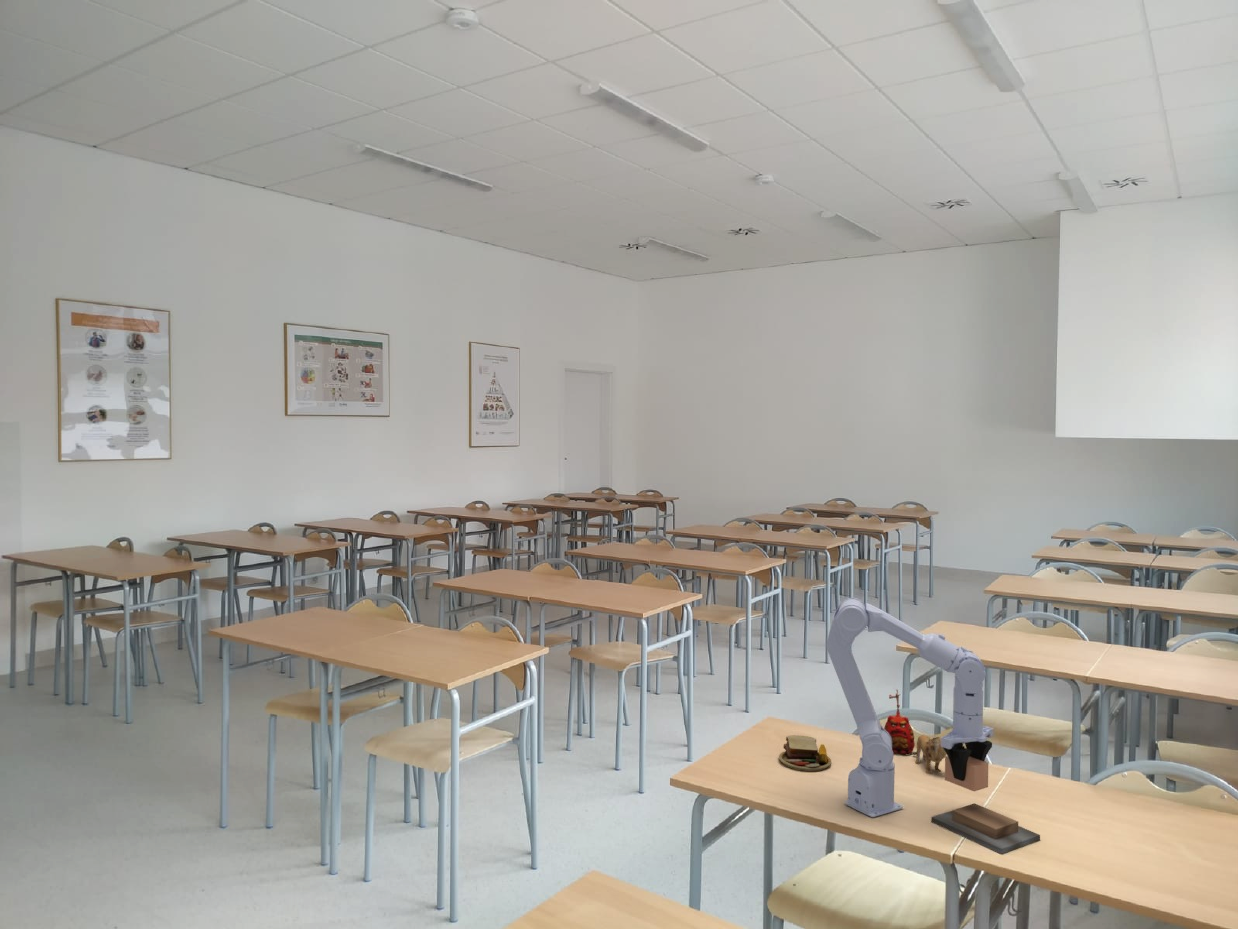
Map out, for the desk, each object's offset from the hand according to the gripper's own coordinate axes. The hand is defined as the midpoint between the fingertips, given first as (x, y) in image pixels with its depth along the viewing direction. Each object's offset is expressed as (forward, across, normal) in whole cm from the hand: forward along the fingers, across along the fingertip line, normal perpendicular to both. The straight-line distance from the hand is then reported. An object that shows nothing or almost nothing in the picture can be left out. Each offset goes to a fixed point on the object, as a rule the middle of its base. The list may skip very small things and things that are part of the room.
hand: (966, 776), depth 176 cm
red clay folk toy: (+9, +19, +34) cm, 40 cm away
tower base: (+8, -2, -6) cm, 11 cm away
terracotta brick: (+2, 0, 0) cm, 2 cm away
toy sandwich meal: (+9, -7, +40) cm, 42 cm away
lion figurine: (+9, +17, +22) cm, 29 cm away
